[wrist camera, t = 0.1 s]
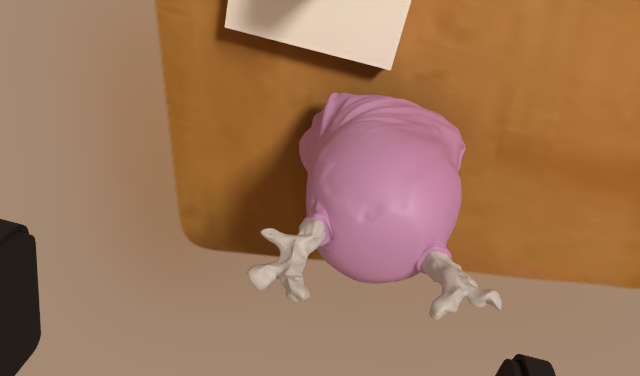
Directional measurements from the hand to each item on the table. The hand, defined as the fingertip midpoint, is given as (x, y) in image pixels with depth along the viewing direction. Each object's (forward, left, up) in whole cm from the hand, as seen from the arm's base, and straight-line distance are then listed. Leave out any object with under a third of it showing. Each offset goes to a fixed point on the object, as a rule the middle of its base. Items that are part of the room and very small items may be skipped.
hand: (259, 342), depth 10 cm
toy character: (+8, +4, -31) cm, 33 cm away
